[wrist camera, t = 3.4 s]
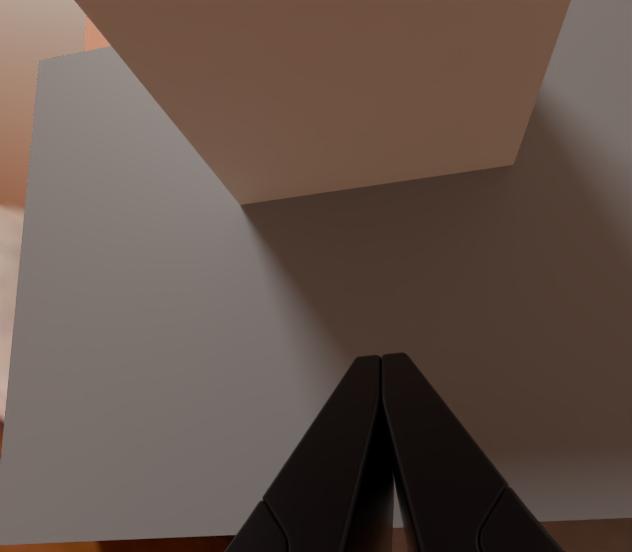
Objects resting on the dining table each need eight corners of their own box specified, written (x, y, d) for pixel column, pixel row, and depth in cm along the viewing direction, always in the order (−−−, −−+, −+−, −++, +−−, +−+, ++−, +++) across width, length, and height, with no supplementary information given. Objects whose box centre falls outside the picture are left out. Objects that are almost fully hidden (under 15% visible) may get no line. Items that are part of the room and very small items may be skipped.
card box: (513, 165, 13) (640, -198, 6) (240, 204, 14) (33, -51, 7) (487, 30, 14) (561, -421, 7) (236, 77, 15) (56, -264, 8)
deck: (810, 482, 13) (961, 503, 10) (89, 519, 17) (-8, 545, 13) (667, 28, 18) (734, -82, 14) (108, 127, 21) (39, 60, 17)
